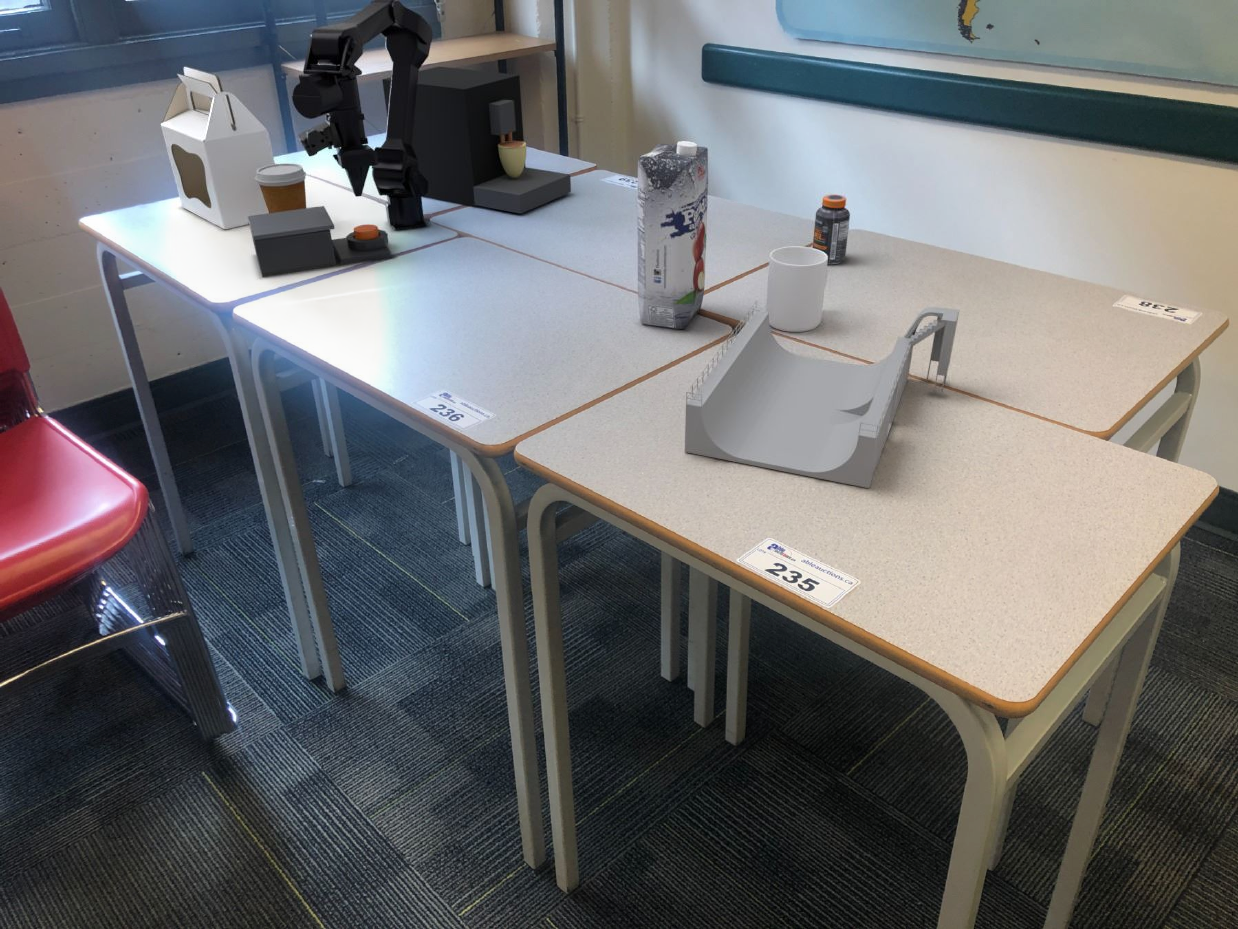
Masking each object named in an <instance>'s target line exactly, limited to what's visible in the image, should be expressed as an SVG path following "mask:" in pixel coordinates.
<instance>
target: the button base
mask: <svg viewBox="0 0 1238 929" xmlns="http://www.w3.org/2000/svg"><path fill="white" fill-rule="evenodd" d="M378 232H379V237H377V238H374V239H367V240H358V239H355V235H354V231H353V232H350V233H349V234H347V235H346V237H341V238H334V239H333V238H332V243H333V249H334V253H335V254H336V256H337V258H338V261H339V262H340V264H341V266H346V265H353V264H360V263H366V262H372V261H374V262H375V261H381V260H388V259H392V254H391V251H390V249H389V248H388V244H390V243H389V242H390V241H389V236H388V233H387V232H386V230H382V229H379V228H378Z"/></svg>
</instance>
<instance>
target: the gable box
mask: <svg viewBox="0 0 1238 929" xmlns="http://www.w3.org/2000/svg"><path fill="white" fill-rule="evenodd" d="M176 75H177V76H178V78H179V79H180V81H181V82H179V83H178V85H177V86H176V88H175V90H174V93H173V95H172V98H171V100H170V103H169V106H168V108H167V110H166V112H165V115H164V117H163V120H162V122H161V123H160V128H161V132H162V135H163V139H164V143H165V147H166V151H167V154H168V158H169V162H170V166H171V170H172V173H173V174H172V175H173V178H174V182H175V186H176V189H177V193H178V198H179V201H180V204H181V208H183V209H185V210H186V211H189V212H190V213H192V214H195V215H196V216H198V217H200V218H202V219H204V220H205V221H208V222H209V223H211V224H213V225H215V226H217V227H219V228H221V229H223V230H225V231H226V230H231V229H234V228H239V227H243V226H247V225H249V220H248V216H253V215H260V214H268V213H269V212H268V209H267V206H266V203H265V200H264V197H263V194H262V191H261V188H260V185H259V184H258V183H257V181H256V179H255V177H256V171H257V170H258V169H259V168H261V167H264V166H268V165H274V164H276V163H275V158H274V153H273V148H272V143H271V138H270V134H269V129H268V128H266V127H265V126H264V125H263V124H262V122H261V121H259V119H257V117H256V116H255V115H254V114H253V113H252V112H251V111H250V110H249V109H248V108H247V107H246V105H244V103H242V101H241V100H239V99H238V97H237V96H236V95H234V94H233V92H229V91H224V89H223V86H222V83H221V79H220V77H219V76H218V75H217V74H214V73H211V72H208V71H204V70H201V69H197V68H194V67H190V66H184V67H183V74H182V73H179V72H177V73H176ZM210 98H211V99H212V100H211V99H210Z"/></svg>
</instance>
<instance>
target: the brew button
mask: <svg viewBox="0 0 1238 929" xmlns="http://www.w3.org/2000/svg"><path fill="white" fill-rule="evenodd" d="M378 229H379V227H378V225H376V224H360V225H357V226H354V227H353V232H354V235H355V239H358V240H367V239H374V238H377V237H379V232H378Z"/></svg>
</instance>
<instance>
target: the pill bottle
mask: <svg viewBox="0 0 1238 929" xmlns="http://www.w3.org/2000/svg"><path fill="white" fill-rule="evenodd" d="M821 205H822V206H821V207H819V208H818V209H817V210H816V211H815V217H814V218H815V219H814V227H813V228H814V229H813V240H812V248H814V249H818V250H820V251H822V252H824V253H826V254H827V256H828V261H827V265H837V264H841V263H843V262H844V261H845V259H846V254H847V245H848V236H849V231H850V230H849V229H850V218H851V214H850V211H849V210H848V208H846V205H847V197H845V195H842V194H833V193H832V194H826V195H824V196H823V197H822V201H821Z"/></svg>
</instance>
